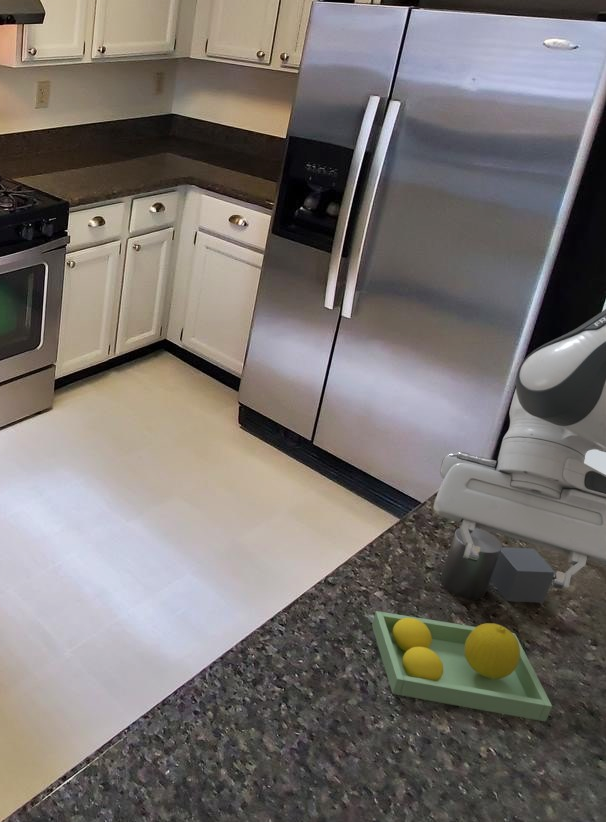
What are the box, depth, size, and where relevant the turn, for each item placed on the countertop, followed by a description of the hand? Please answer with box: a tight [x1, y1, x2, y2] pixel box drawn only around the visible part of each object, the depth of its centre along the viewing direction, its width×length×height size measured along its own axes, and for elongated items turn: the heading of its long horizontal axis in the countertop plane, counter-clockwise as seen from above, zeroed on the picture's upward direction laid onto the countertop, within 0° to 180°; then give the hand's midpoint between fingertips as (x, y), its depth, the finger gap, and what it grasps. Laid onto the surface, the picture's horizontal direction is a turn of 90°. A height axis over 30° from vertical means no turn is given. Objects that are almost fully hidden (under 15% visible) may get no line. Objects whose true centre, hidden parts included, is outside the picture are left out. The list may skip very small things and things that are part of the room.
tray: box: [371, 610, 553, 722], centre depth 101 cm, size 17×12×3 cm
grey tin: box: [439, 527, 503, 601], centre depth 113 cm, size 6×6×9 cm
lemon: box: [465, 622, 520, 679], centre depth 99 cm, size 6×6×8 cm
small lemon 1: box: [393, 618, 432, 651], centre depth 103 cm, size 4×4×4 cm
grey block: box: [490, 546, 556, 606], centre depth 113 cm, size 5×5×6 cm
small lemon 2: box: [402, 647, 443, 681], centre depth 99 cm, size 4×4×4 cm
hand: (513, 573), depth 101 cm, fingers open, 8 cm apart
